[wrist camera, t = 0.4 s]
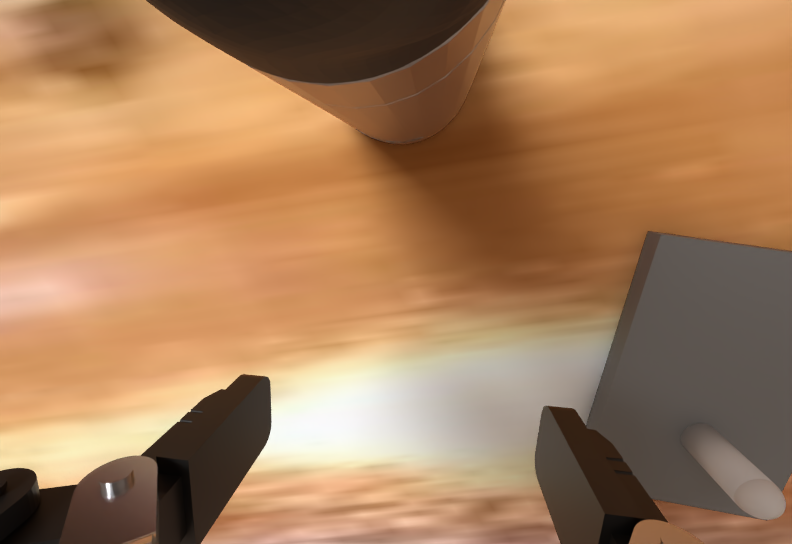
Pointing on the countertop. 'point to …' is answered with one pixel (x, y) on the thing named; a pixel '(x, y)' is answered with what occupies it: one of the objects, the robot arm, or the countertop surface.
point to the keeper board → (704, 375)
